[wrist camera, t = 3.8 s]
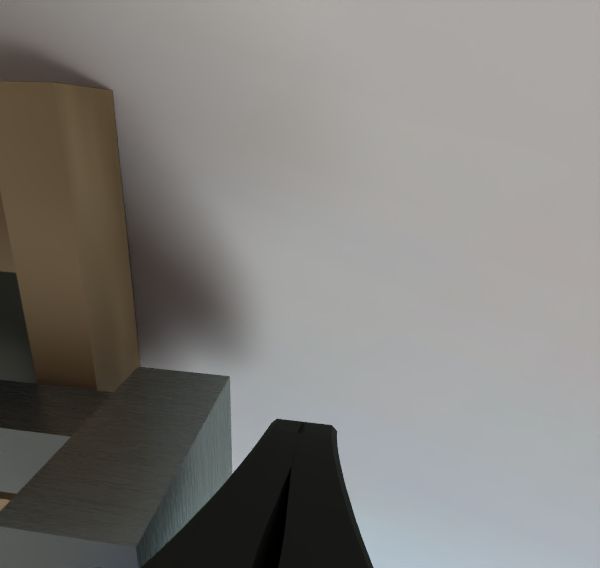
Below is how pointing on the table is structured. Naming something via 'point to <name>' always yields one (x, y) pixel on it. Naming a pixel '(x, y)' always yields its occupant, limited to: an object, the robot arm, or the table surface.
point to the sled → (109, 466)
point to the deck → (63, 241)
